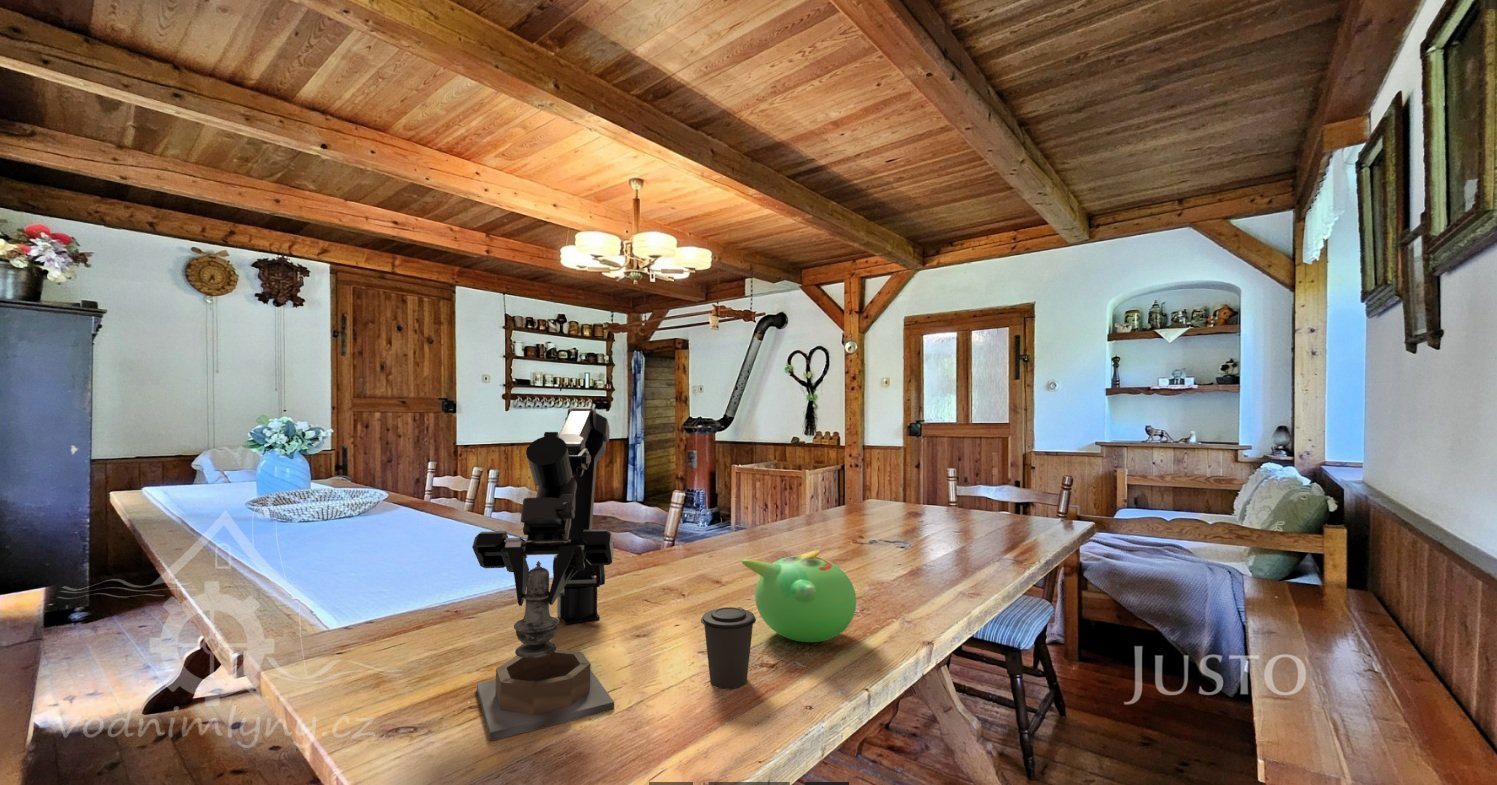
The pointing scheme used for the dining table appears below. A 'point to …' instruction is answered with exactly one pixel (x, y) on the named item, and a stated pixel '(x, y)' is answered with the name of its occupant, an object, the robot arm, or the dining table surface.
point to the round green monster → (804, 597)
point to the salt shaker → (536, 617)
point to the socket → (541, 693)
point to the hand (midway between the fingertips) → (535, 603)
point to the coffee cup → (728, 645)
